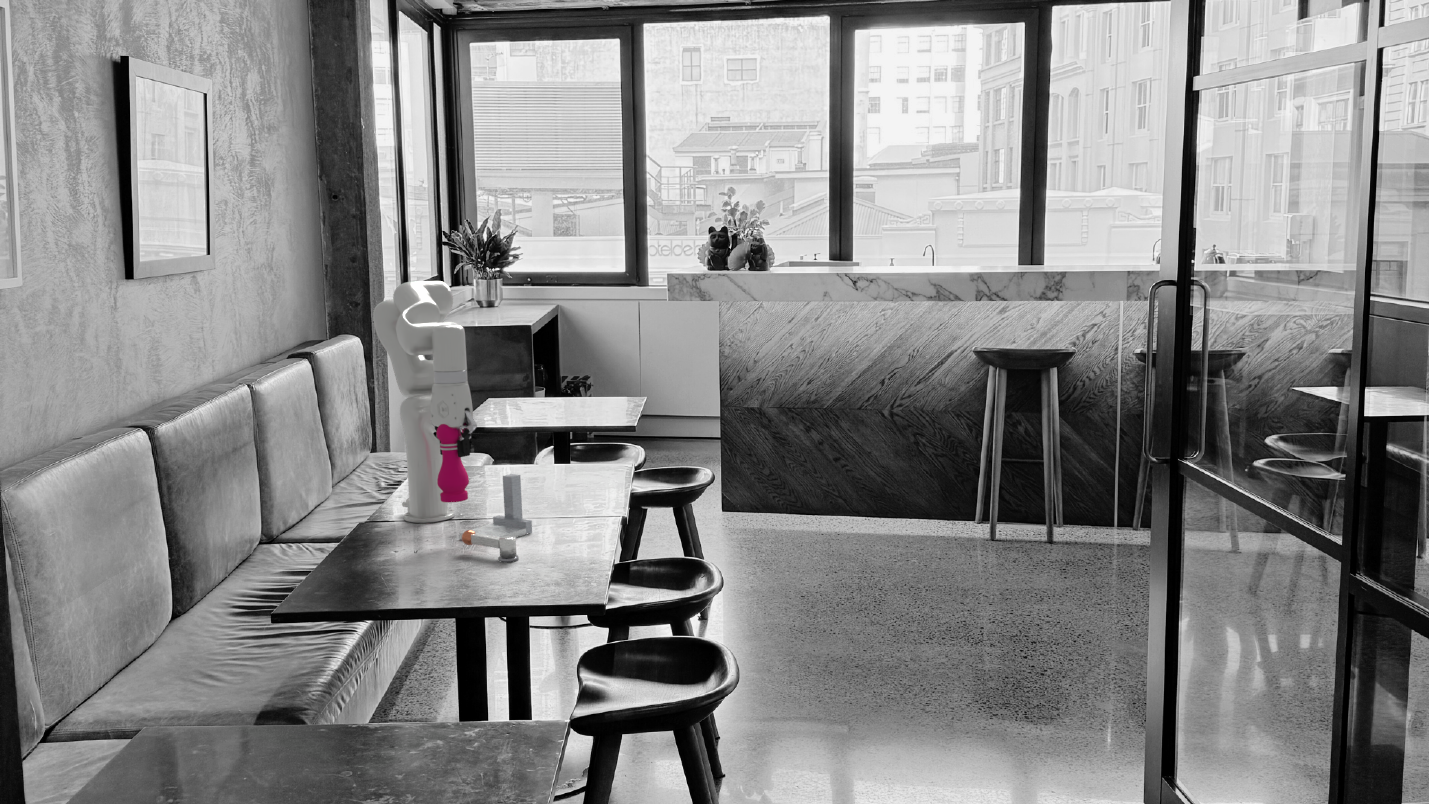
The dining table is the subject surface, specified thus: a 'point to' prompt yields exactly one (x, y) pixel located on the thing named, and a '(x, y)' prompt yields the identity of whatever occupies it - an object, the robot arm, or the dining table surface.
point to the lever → (492, 542)
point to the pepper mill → (451, 467)
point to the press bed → (508, 515)
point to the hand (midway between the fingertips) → (455, 454)
